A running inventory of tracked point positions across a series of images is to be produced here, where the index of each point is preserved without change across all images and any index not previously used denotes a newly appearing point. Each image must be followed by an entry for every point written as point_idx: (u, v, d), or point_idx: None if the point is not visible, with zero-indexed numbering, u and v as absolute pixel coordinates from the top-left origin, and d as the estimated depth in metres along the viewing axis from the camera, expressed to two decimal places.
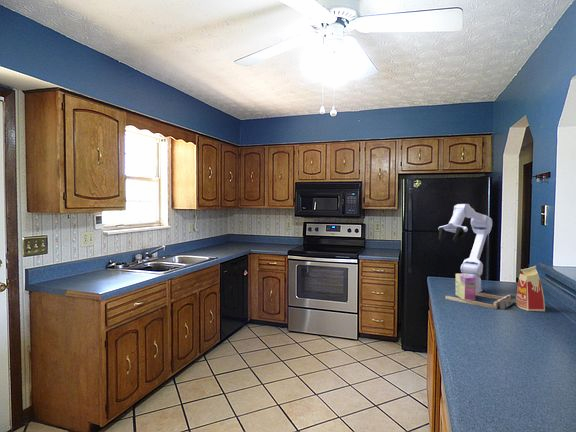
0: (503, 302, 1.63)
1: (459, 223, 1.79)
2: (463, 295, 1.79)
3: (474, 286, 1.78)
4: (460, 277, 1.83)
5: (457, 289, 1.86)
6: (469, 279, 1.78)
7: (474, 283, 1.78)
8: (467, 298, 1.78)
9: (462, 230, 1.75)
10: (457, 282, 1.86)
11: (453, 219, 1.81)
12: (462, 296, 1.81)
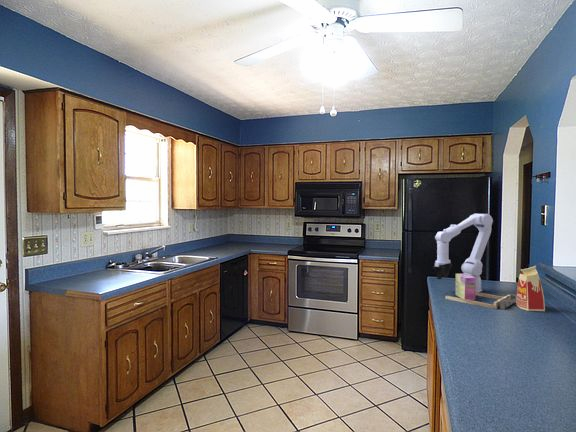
0: (503, 302, 1.63)
1: (439, 257, 1.90)
2: (463, 295, 1.79)
3: (474, 286, 1.78)
4: (460, 277, 1.83)
5: (457, 289, 1.86)
6: (469, 279, 1.78)
7: (474, 283, 1.78)
8: (467, 298, 1.78)
9: (435, 267, 1.89)
10: (457, 282, 1.86)
11: None
12: (462, 296, 1.81)
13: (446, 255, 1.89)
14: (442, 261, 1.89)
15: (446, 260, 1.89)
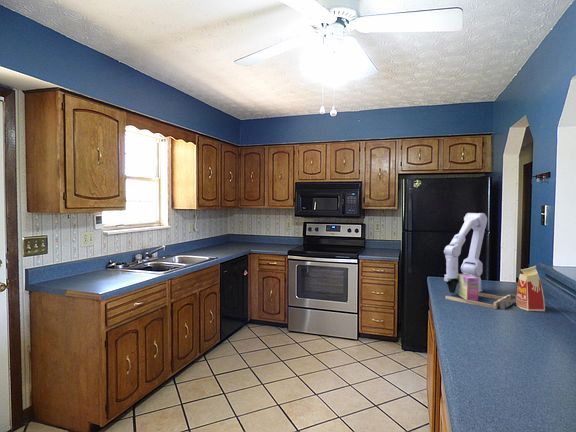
0: (503, 302, 1.63)
1: (448, 271, 1.87)
2: (466, 295, 1.78)
3: (476, 286, 1.77)
4: (463, 277, 1.82)
5: (460, 289, 1.85)
6: (472, 279, 1.77)
7: (477, 283, 1.77)
8: (470, 299, 1.77)
9: (448, 281, 1.87)
10: (460, 282, 1.85)
11: None
12: (465, 296, 1.80)
13: (455, 269, 1.86)
14: (451, 276, 1.86)
15: (455, 275, 1.86)
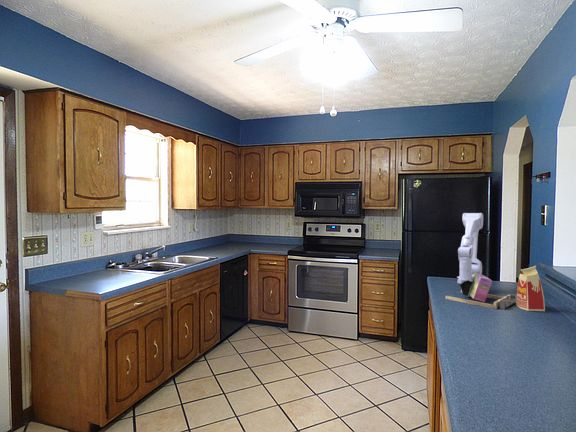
0: (503, 302, 1.63)
1: (461, 273, 1.82)
2: (474, 293, 1.76)
3: (487, 288, 1.73)
4: (477, 276, 1.79)
5: (471, 288, 1.83)
6: (485, 280, 1.74)
7: (489, 285, 1.73)
8: (477, 298, 1.75)
9: (461, 283, 1.82)
10: (473, 281, 1.82)
11: None
12: (472, 295, 1.77)
13: (469, 271, 1.80)
14: (465, 278, 1.80)
15: (469, 277, 1.80)
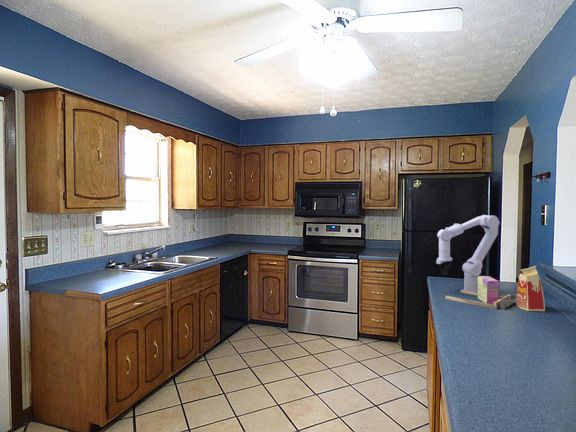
0: (503, 302, 1.63)
1: (440, 254, 1.94)
2: (485, 298, 1.72)
3: (497, 289, 1.70)
4: (482, 280, 1.75)
5: (479, 292, 1.79)
6: (492, 282, 1.71)
7: (497, 286, 1.70)
8: (490, 302, 1.71)
9: (440, 263, 1.94)
10: (479, 285, 1.79)
11: None
12: (484, 300, 1.74)
13: (448, 253, 1.92)
14: (444, 258, 1.93)
15: (448, 257, 1.93)
